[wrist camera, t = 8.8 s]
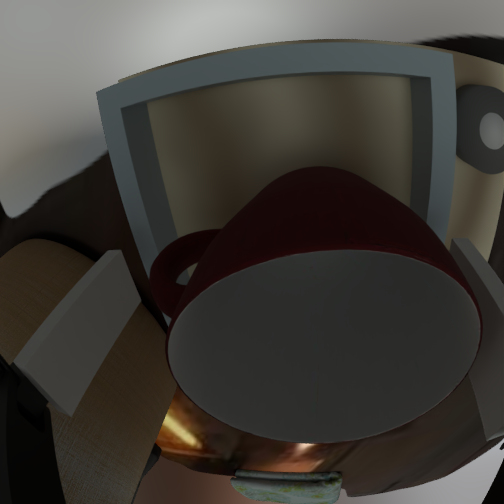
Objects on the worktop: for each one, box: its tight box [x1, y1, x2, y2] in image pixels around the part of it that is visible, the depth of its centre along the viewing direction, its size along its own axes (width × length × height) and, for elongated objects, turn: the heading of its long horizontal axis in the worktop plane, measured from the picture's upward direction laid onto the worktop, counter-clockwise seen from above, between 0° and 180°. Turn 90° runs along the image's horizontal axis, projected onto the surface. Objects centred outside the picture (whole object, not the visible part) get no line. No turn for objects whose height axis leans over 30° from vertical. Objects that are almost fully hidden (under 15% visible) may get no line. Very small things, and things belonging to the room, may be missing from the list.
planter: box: [0, 239, 177, 504], centre depth 18 cm, size 22×22×20 cm
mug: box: [149, 166, 483, 444], centre depth 11 cm, size 10×8×10 cm
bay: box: [96, 42, 457, 327], centre depth 14 cm, size 15×16×2 cm
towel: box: [230, 469, 342, 504], centre depth 44 cm, size 18×21×5 cm
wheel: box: [456, 84, 504, 174], centre depth 10 cm, size 4×4×2 cm
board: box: [118, 39, 504, 277], centre depth 15 cm, size 21×18×1 cm
